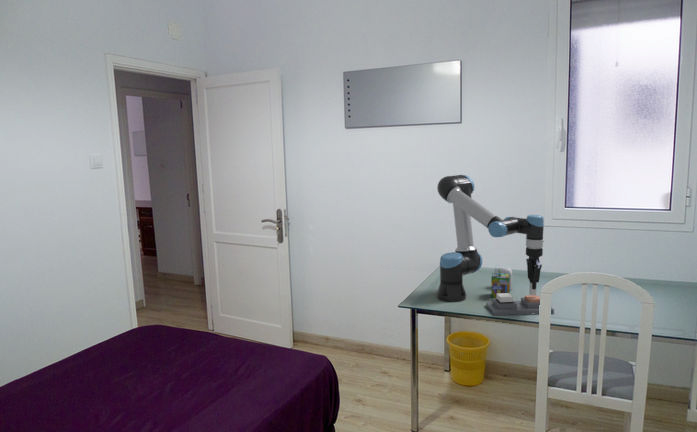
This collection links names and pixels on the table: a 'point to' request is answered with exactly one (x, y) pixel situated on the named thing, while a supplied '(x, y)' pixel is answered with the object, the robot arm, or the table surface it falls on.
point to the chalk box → (500, 283)
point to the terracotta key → (532, 298)
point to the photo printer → (505, 271)
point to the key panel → (513, 307)
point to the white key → (504, 297)
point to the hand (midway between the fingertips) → (532, 294)
